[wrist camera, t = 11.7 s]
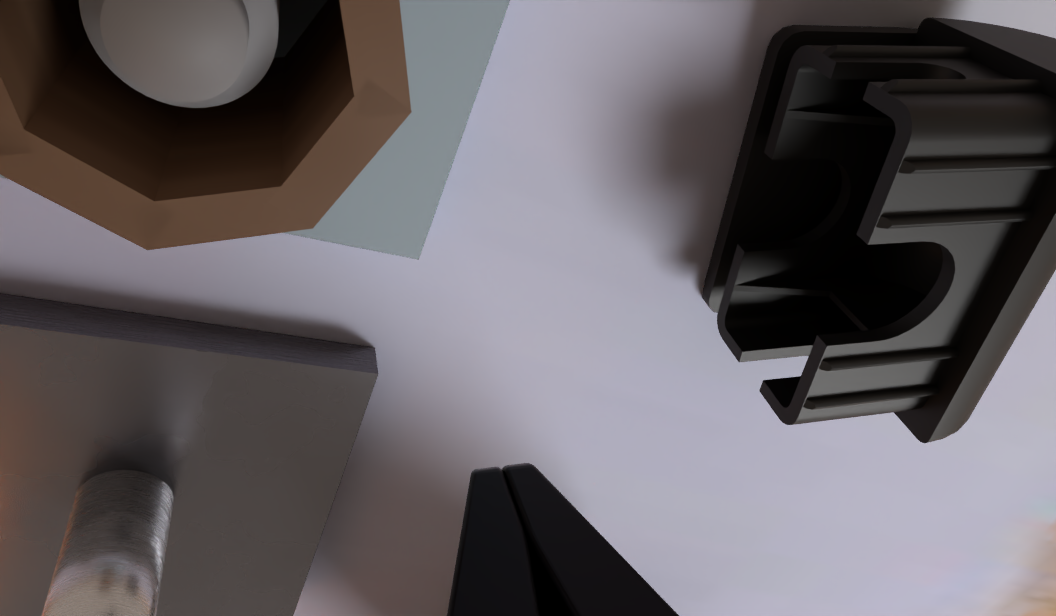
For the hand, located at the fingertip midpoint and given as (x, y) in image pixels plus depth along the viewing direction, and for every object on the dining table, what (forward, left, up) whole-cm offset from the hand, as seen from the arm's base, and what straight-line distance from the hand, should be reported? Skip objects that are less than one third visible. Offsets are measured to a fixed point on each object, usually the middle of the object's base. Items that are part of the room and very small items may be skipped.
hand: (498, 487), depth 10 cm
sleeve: (+3, +5, -10) cm, 12 cm away
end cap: (+2, -13, -12) cm, 18 cm away
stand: (-13, +5, -11) cm, 18 cm away
